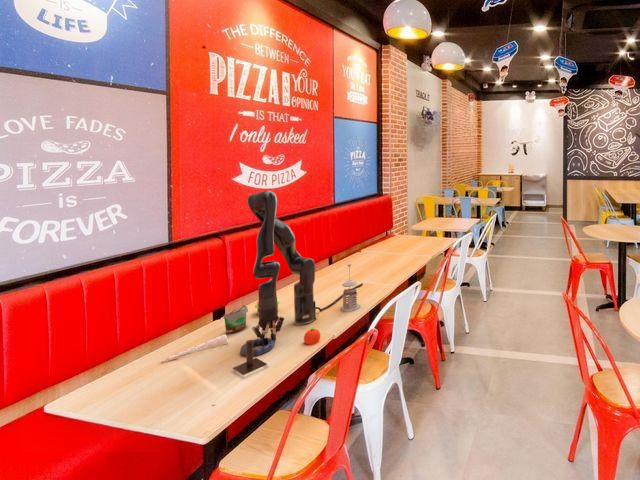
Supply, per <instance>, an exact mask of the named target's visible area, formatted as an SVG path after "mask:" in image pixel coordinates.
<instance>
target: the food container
mask: <svg viewBox="0 0 640 480" xmlns="http://www.w3.org/2000/svg"><path fill="white" fill-rule="evenodd" d="M248 312H249V309H248V307H247V305H244V304H243V305H242V306H241V307H240V308H237V309H235V310H232V311H231V312H229V313H224V314H223V318H222V319H224V328H225V335H230V334H236V333H239V332H242V331H244V330H245V329H246V325H247V313H248Z"/></svg>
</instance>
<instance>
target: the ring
mask: <svg viewBox="0 0 640 480" xmlns="http://www.w3.org/2000/svg"><path fill="white" fill-rule="evenodd" d="M267 338H268V344H267V345H266V346H264V345H263V342H262V339H260V338H255V339H252V340H253V347H255V346H259V345H263V346H261V347H258V348H253V357H255V356H260V355H262V354H265V353H267V352H269V351H270V350H272V348H274V347H275V343H274V340H273V339H271V337H267ZM239 350H240V351H239V353H240V355H242V356H243V357H246V343H245V344H242V346H241V347H240V349H239Z"/></svg>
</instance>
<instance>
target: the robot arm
mask: <svg viewBox="0 0 640 480" xmlns="http://www.w3.org/2000/svg"><path fill="white" fill-rule="evenodd" d="M277 197H278V196H277V194H276V193H275V192H274V191H273V190H270V189H269V190H268V189H267V190H262V191H259V192H254V193H252V194H250V195H248V197H247V206H248V208H249V210H250V211H251V213H252V214H254V217H255V218H256V219H257V220H258V221H259V222H260V223H261V227H260V229H259V231H258V233H257V236H256V258H255V262H254V265H253V269H252V275H253V277H254V278H255V279H256V280H260V279H261V280H262V279H266V278H270V279H268V280H266V281H264V282H262V283H260V284H259V285H258V301H257V303H258V310H257V311H259V314H258V322H257V324H256V325H255V326H253V327H252V328H251V329H252V332H254V334H255V336H256V337H257V339H259V338H260V339H262V342H263V344H262V346H263V347H264V346H266V345H267V344H268V338H269V337H268V333H269V330H270V338H271V339H273V340H274V344H275V343H276V341H277V333H279V332H280V331H281V329H282V327H283V323H284V320H285V317H282V316H279V315H278V314H279V311H278V310H279V304H278V305H277V303H278V302H277V299H278V295H277V283H278V277H279V274H280V271H281V264H280V262H279V261H278V260H269V261H263V260H264V259H265V258H268V257H271V256H273V255H274V254H275V246H276V247H277V249H278V251H279V252H280V254H281V255H282V257H283V258H284V260H285V263H286V264H287V267H288V269H289V272H291V274H293V275H295V276H299V281H297V282H296V283H294V285H293V307H294V308H293V309H294V313H293V314H294V324H295V325H297V326H304V325H308V324H311V323H313V322H314V321H315V320H316V319H317V316H316V315H317V313H316V312H317V310H318V311H319V312H322V311H325V310H326V309H328V308H330V307H332V306H333V305H335V304H336V302H338V301H339V300H340V299H341V298H343V294H341V295H340V296H339V297H338V298H336V299H335V300H333V302H331V303H329V304H328V305H327V306H325V307H323V308H321V307H319V306H317V305H316V301H315V300H314V298H315V297H314V296H315V295H314V293H315V292H314V284H315V281H316V262H315V259H312V258H310V257H305V256H302V255H301V254H300V253H299V252H298V250H297V248H296V236H295V233H294V232H293V231H292V229H291V227H290V226H289V225H288V224H287V223H286V222H284V221H283V220H281V219H279V218H277V209H278V198H277ZM363 285H364V283H360V284H357V285H355V286H353V287H352V288H351V289H357V288H359V287H361V286H363ZM260 328H261V331H260Z"/></svg>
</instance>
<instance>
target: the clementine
mask: <svg viewBox="0 0 640 480" xmlns="http://www.w3.org/2000/svg"><path fill="white" fill-rule="evenodd" d="M320 339H321V332H320V331H319V329H317V328H314V327H311V328H309V329H308V330H307V331H306V332H305V333H304V335H303V341H304V343H305V344H306V345H315V344H317V343H318V342H319V341H320Z"/></svg>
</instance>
